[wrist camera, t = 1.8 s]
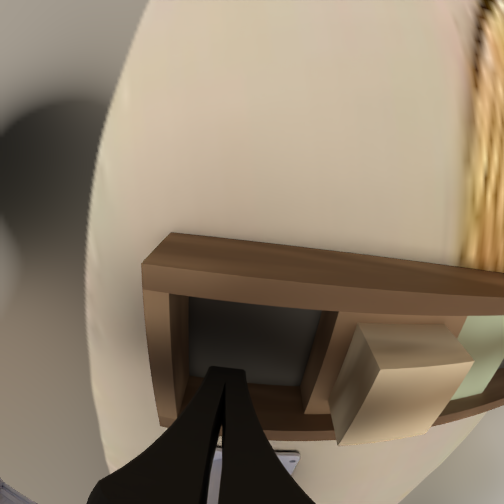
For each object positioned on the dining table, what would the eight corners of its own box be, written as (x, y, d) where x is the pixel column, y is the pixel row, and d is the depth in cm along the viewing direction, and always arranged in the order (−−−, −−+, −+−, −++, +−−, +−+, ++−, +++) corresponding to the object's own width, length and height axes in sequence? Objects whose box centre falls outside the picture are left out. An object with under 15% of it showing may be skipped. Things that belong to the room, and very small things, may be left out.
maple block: (407, 395, 13) (425, 433, 10) (327, 400, 13) (337, 446, 10) (444, 324, 12) (474, 361, 9) (357, 322, 11) (380, 369, 9)
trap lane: (509, 371, 17) (528, 394, 13) (174, 380, 16) (160, 426, 13) (552, 280, 13) (579, 299, 10) (170, 232, 13) (141, 263, 9)
